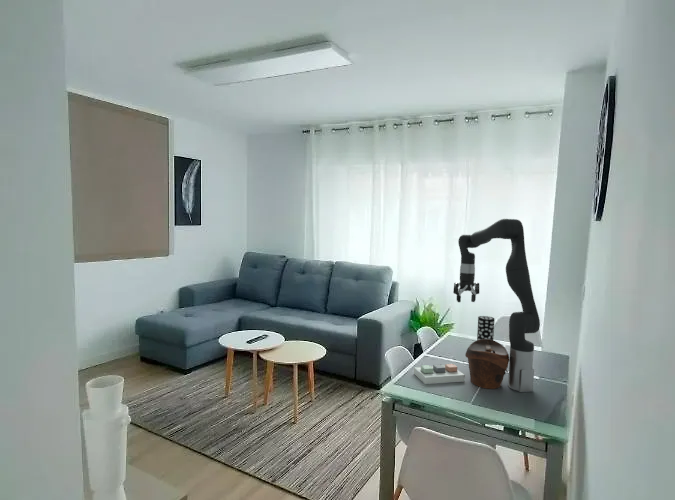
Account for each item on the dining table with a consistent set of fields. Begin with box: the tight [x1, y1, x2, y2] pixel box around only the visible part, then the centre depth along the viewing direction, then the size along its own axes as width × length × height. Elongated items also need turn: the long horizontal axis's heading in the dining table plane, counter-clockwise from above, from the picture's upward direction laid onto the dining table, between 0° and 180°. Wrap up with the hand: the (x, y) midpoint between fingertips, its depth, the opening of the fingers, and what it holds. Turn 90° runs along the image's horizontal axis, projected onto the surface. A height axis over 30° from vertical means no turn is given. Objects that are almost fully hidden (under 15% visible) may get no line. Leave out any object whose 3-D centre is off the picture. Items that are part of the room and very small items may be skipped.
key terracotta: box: [444, 363, 458, 372], centre depth 180 cm, size 4×4×2 cm
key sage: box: [420, 364, 433, 373], centre depth 177 cm, size 4×4×2 cm
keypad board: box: [413, 365, 466, 385], centre depth 179 cm, size 12×19×3 cm, turn 103°
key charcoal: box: [432, 364, 445, 372], centre depth 178 cm, size 4×4×2 cm
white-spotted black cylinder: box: [476, 315, 495, 341], centre depth 213 cm, size 8×8×20 cm
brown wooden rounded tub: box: [465, 339, 510, 390], centre depth 173 cm, size 18×20×18 cm
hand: (465, 301), depth 210 cm, fingers open, 8 cm apart
